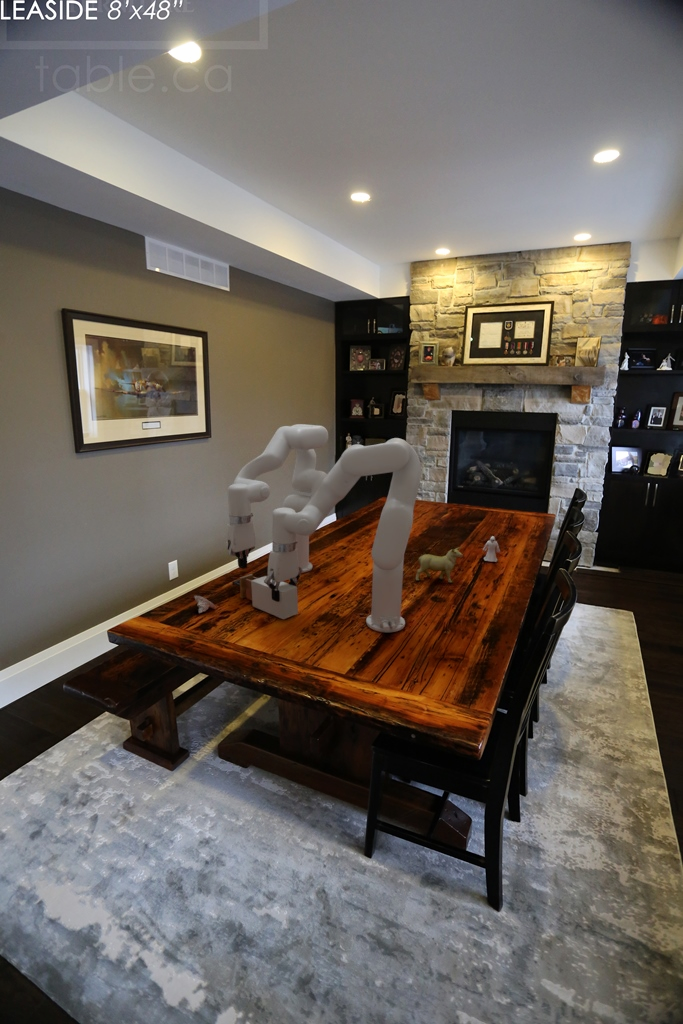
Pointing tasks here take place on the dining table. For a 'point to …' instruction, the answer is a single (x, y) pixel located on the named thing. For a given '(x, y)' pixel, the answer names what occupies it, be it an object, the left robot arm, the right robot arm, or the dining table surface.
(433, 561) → the toy
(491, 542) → the figurine
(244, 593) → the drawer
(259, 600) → the cabinet
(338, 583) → the dining table surface
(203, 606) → the seashell
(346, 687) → the dining table surface
